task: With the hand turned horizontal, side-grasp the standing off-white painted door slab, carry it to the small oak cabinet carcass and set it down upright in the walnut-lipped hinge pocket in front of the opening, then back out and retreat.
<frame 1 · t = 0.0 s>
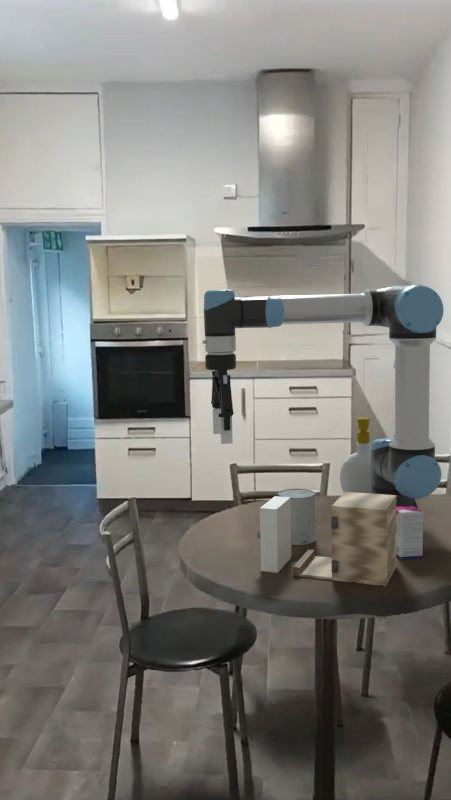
hand: (222, 438, 201), 28 cm above the table, tool pointing down, fingers open, 13 cm apart
supplement box: (407, 555, 195), on the table
soap bottle: (363, 503, 243), on the table
grey cylinder: (296, 540, 210), on the table
door: (276, 564, 191), on the table
cabinet: (364, 573, 184), on the table
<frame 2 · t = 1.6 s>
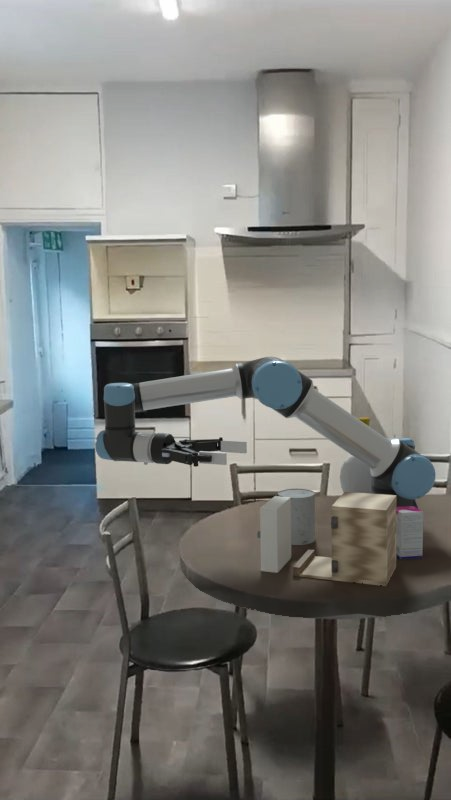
hand: (236, 453, 191), 26 cm above the table, tool horizontal, fingers open, 13 cm apart
nothing on the table moved.
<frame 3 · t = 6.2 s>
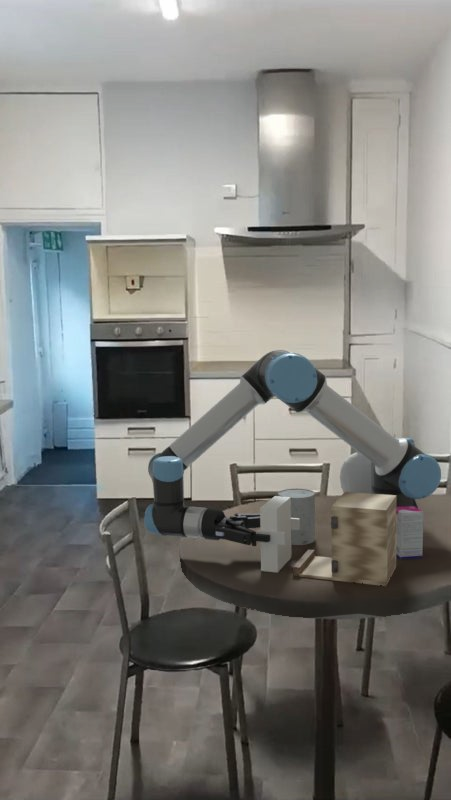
hand: (292, 531, 189), 8 cm above the table, tool horizontal, fingers closed on door, 11 cm apart
door: (276, 563, 191), on the table, touching gripper
everything else where it was.
when the fingers open (10 cm above the table, at t = 11.9 s): door stays where it is, resting on cabinet.
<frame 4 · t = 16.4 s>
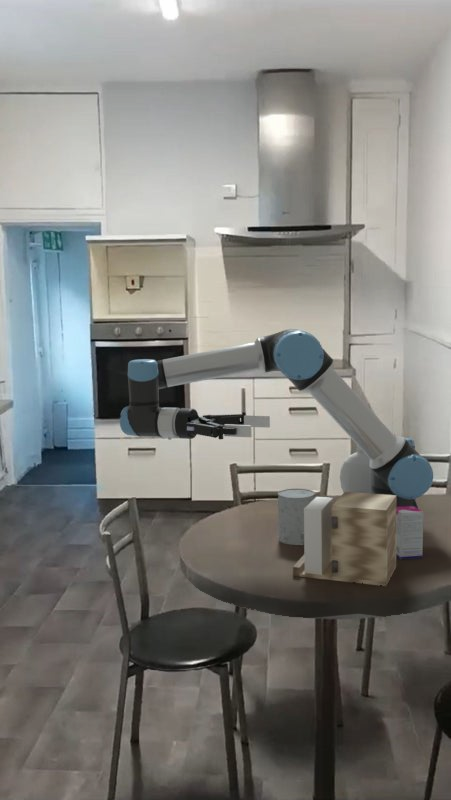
hand: (260, 426, 193), 32 cm above the table, tool horizontal, fingers open, 13 cm apart
door: (319, 565, 187), point 1 cm above the table, touching cabinet
everything else where it was.
at the end: door inside the target area (0.1 cm from its centre), point 0.6 cm above the table; door tilted 0°; the gripper is holding nothing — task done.
